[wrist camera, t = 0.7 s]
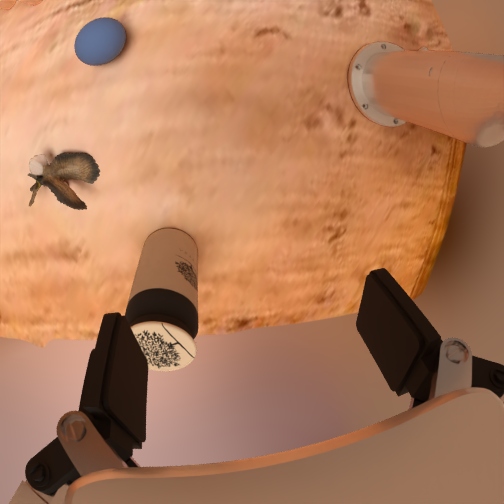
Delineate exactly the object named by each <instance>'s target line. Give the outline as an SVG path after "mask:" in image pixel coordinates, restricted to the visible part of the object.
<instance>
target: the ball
mask: <svg viewBox="0 0 504 504" xmlns="http://www.w3.org/2000/svg"><path fill="white" fill-rule="evenodd" d="M125 41H126V33H125V29H124V27H123V26H122V24H121V23H120V22H118V21H117V20H115V19H112V18H98V19H95V20H93V21H91V22H89V23H88V24H86V25H85V26H84V27H83V28H82V29H81V30H80V32H79V33H78V35H77V37H76V40H75V52H76V55H77V57H78V58H79V59H80V60H81V61H82V62H83V63H85V64H88V65H102V64H105V63H108V62H110V61H111V60H113V59H114V58H115V57H117V56H118V54H119V53H120V52H121V50H122V49H123V47H124V44H125Z"/></svg>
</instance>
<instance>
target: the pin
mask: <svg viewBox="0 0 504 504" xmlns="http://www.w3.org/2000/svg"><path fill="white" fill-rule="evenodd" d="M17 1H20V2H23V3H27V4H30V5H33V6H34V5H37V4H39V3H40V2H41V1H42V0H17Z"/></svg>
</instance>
